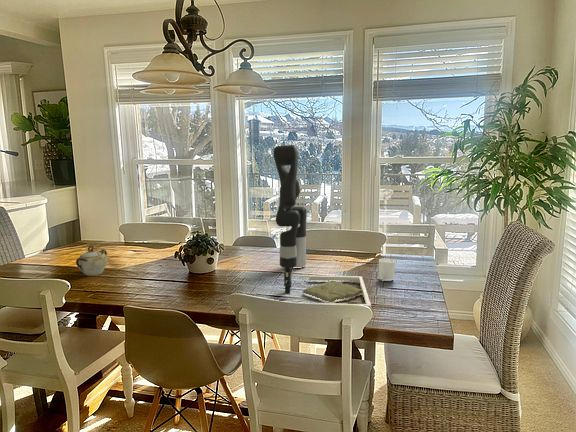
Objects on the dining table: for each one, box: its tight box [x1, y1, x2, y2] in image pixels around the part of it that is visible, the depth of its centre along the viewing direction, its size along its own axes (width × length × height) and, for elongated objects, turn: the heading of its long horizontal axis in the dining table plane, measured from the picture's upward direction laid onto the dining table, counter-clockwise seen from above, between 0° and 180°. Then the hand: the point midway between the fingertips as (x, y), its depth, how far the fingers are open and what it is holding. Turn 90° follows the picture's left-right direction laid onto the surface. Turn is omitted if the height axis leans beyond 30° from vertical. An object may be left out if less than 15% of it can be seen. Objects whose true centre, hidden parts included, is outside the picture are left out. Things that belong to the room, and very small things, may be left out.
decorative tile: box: [302, 281, 362, 302], centre depth 183 cm, size 19×20×4 cm
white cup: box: [378, 257, 396, 280], centre depth 203 cm, size 8×8×10 cm
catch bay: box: [308, 274, 372, 309], centre depth 183 cm, size 37×26×3 cm
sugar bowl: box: [75, 245, 109, 277], centre depth 215 cm, size 20×15×15 cm
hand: (288, 290), depth 184 cm, fingers open, 8 cm apart
